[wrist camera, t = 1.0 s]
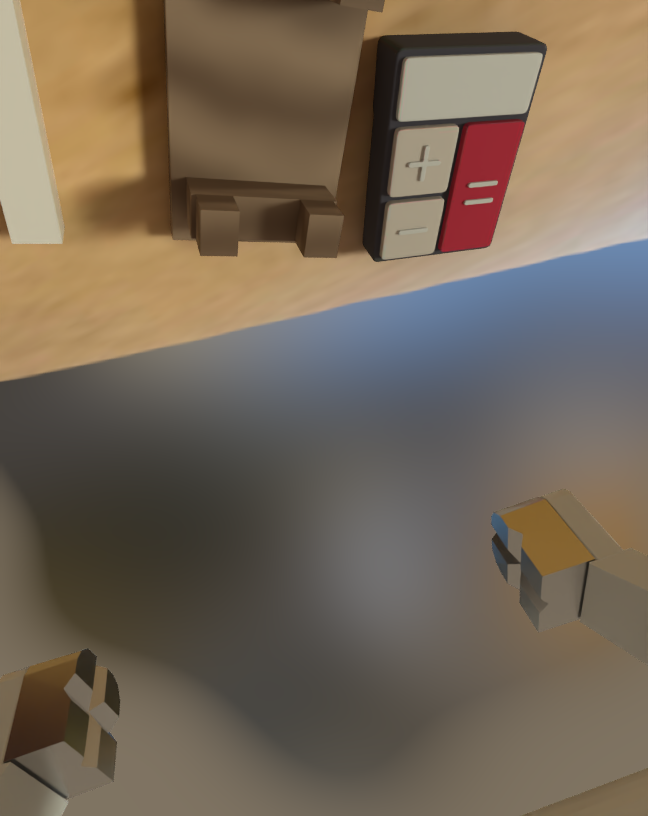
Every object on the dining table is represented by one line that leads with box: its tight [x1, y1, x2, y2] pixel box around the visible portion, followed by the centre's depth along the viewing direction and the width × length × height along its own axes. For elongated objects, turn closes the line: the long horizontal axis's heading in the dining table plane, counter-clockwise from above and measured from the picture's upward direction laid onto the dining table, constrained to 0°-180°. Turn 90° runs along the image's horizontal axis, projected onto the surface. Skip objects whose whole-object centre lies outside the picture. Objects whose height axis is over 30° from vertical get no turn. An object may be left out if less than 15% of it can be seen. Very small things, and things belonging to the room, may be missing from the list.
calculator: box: [363, 32, 547, 262], centre depth 40 cm, size 11×4×15 cm
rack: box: [164, 0, 385, 258], centre depth 32 cm, size 20×12×7 cm, turn 171°
